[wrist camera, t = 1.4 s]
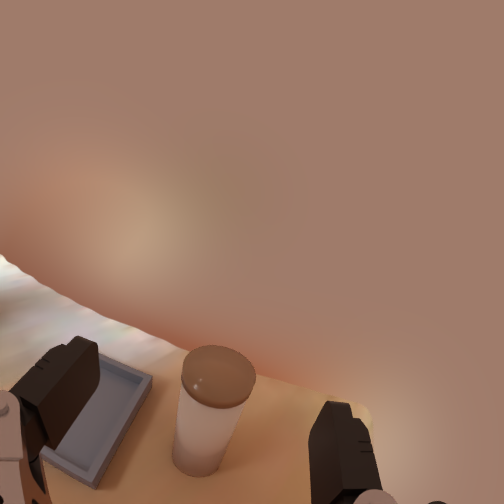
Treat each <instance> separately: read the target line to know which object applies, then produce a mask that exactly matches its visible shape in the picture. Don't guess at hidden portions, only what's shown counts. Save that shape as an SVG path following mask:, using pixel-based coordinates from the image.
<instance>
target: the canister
mask: <svg viewBox="0 0 504 504" xmlns="http://www.w3.org/2000/svg"><path fill="white" fill-rule="evenodd" d="M181 380H182V384H181V391H180V398H179V405H178V412H177V419H176V427H175V435H174V442H173V451H172V459H173V462H174V464H175V465H176V467H177V468H178V469H179V470H180V471H182V472H183V473H185V474H187V475H189V476H193V477H205V476H209V475H211V474H212V473H214V472H215V471H216V470H217V469H218V467H219V465H220V463H221V461H222V458H223V456H224V454H225V451H226V449H227V447H228V444H229V442H230V439H231V437H232V435H233V432H234V430H235V427H236V425H237V423H238V420H239V418H240V415H241V413H242V410H243V408H244V405H245V403H246V400H247V399H248V398H249V396H250V394H251V391H252V389H253V386H254V384H255V381H256V373H255V369H254V367H253V366H252V364H251V362H250V361H249V360H248V359H247V358H246V357H245V356H243V355H242V354H240V353H238V352H237V351H235V350H232V349H230V348H227V347H223V346H216V345H210V346H202V347H199V348H196V349H194V350H192V351H191V352H190V353H189V354H188V355H187V356H186V358H185V359H184V362H183V368H182V375H181Z"/></svg>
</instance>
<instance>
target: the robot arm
mask: <svg viewBox="0 0 504 504" xmlns="http://www.w3.org/2000/svg"><path fill="white" fill-rule="evenodd" d="M99 382H100V365H99V353H98V345H97V343H96V342H93V341H91V340H88V339H85V338H83V337H80V336H76V337H74V338H73V339H72V340H71V341H70V342H69V343H68V344H67V345H64V344H61V345H58V346H56V347H54V348H52V349H50V350H49V351H48V352H47V353H46V354H45V355H44V356H43V357H42V359H40V360H39V361H38V362H37V363H36V364H35V366H33V367H32V368H31V369H30V370H29V371H28V372H27V373H26V374H25V375H24V376H23V377H22V378H21V379H20V380H19V381H18V382H17V383H16V384H15V385H14V386H13V387H12V388H11V389H10V390H9V391H4V390H0V504H52V501H51V498H50V495H49V491H48V486H47V482H46V477H45V472H44V466H43V461H42V455H41V452H40V451H41V450H42V448H43V447H44V445H45V446H47V447H49V448H51V449H52V450H54V451H55V450H56V448H57V447H58V445H59V444H60V442H61V441H62V439H63V438H64V436H65V435H66V433H67V432H68V430H69V429H70V427H71V426H72V424H73V423H74V421H75V420H76V418H77V417H78V415H79V414H80V412H81V411H82V410H83V408H84V407H85V405H86V404H87V402H88V401H89V399H90V398H91V397H92V395H93V394H94V392H95V391H96V389H97V387H98V385H99ZM308 447H309V463H310V482H311V504H397V503H396V501H395V499H394V498H393V497H392V496H391V495H390V494H388V493H387V492H385V491H383V489H382V486H381V481H380V477H379V473H378V468H377V464H376V460H375V456H374V453H373V448H372V444H371V440H370V436H369V432H368V429H367V428H366V426H365V425H364V424H363V422H362V421H361V419H359V418H353V416H352V412H351V407H350V405H349V403H343V402H334V401H327V402H326V403H325V404H324V406H323V408H322V410H321V412H320V414H319V415H318V417H317V419H316V421H315V423H314V425H313V427H312V429H311V431H310V435H309V441H308ZM429 504H446V503H444V502H441V501H435V502H431V503H429Z"/></svg>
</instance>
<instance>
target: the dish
mask: <svg viewBox="0 0 504 504" xmlns="http://www.w3.org/2000/svg"><path fill="white" fill-rule="evenodd" d="M99 365H100V382H99V385H98V387H97V389H96V391H95V392H94V394H93V395H92V397H91V398H90V399H89V401H88V402H87V404H86V405H85V407H84V408H83V410H82V411H81V412H80V414H79V415H78V417H77V418H76V420H75V421H74V423H73V424H72V426H71V427H70V429H69V430H68V432H67V433H66V435H65V436H64V438H63V439H62V441H61V442H60V444H59V445H58V447H57V448H56V450H55V451H54V450H52V449H51V448H49V447H47V446H45V445H44V447H43V448H42V450H41V451H40V452H41V455H42V459H44V460H45V461H47V462H48V463H50V464H51V465H53V466H54V467H56V468H58V469H59V470H61V471H63V472H64V473H66V474H68V475H69V476H71V477H73V478H74V479H76V480H78V481H80V482H82V483H83V484H85V485H87V486H89V487H91V488H93V489H96V487H97V485H98V483H99V482H100V480H101V478H102V476H103V474H104V472H105V470H106V469H107V467H108V465H109V463H110V461H111V459H112V458H113V456H114V454H115V452H116V450H117V448H118V447H119V445H120V443H121V441H122V439H123V438H124V436H125V434H126V432H127V430H128V428H129V427H130V425H131V423H132V421H133V419H134V418H135V416H136V414H137V412H138V411H139V409H140V407H141V405H142V403H143V402H144V400H145V398H146V396H147V395H148V393H149V391H150V389H151V387H152V376H151V375H148V374H146V373H143V372H141V371H139V370H136V369H134V368H131V367H129V366H127V365H124V364H122V363H120V362H118V361H115V360H113V359H111V358H109V357H106V356H104V355H102V354H100V353H99Z"/></svg>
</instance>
